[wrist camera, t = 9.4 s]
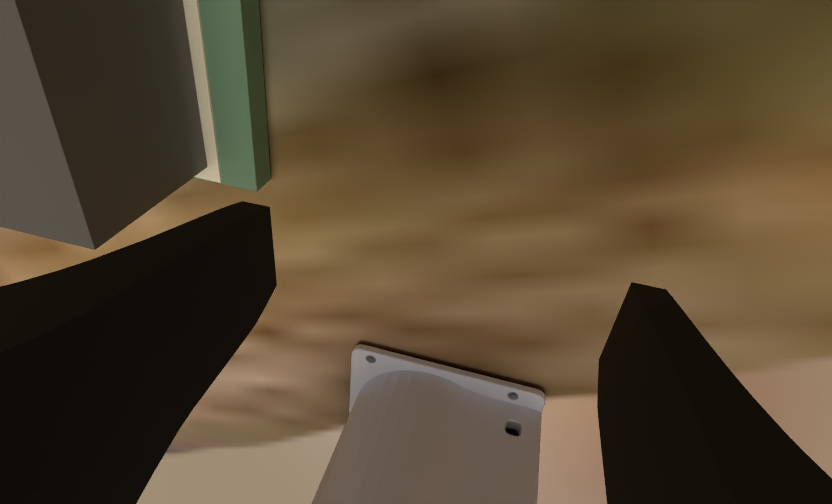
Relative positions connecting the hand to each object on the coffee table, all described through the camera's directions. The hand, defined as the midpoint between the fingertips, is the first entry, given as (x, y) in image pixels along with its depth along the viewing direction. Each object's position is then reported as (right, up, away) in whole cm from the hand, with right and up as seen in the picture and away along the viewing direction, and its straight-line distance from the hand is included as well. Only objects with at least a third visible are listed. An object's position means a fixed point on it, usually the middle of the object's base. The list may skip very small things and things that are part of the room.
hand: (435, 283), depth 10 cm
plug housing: (-10, +9, +7) cm, 15 cm away
